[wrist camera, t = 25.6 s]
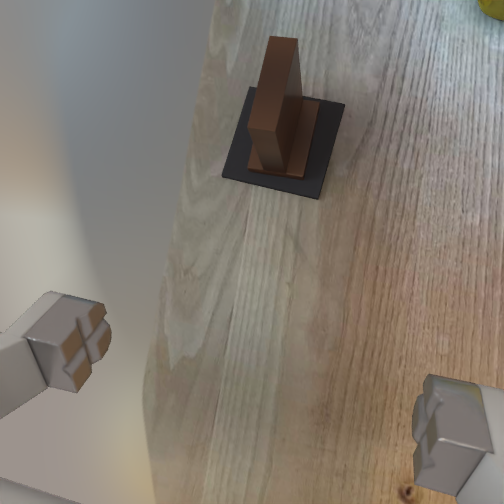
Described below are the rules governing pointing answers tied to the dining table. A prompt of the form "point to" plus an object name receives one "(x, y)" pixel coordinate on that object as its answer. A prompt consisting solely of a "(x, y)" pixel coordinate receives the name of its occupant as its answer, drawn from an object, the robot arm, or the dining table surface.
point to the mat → (317, 158)
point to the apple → (492, 8)
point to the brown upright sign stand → (281, 114)
